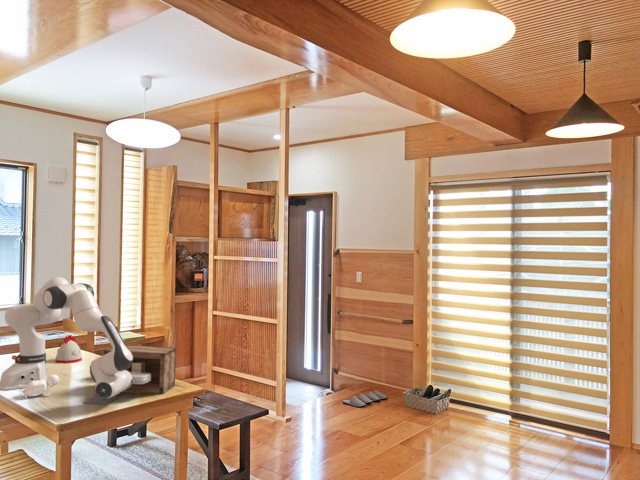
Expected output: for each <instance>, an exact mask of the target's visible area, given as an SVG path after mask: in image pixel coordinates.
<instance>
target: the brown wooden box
mask: <svg viewBox="0 0 640 480" xmlns="http://www.w3.org/2000/svg"><path fill="white" fill-rule="evenodd" d="M125 345H126V346H127V347H128V349H129V350H130V351H131V353H132V355H133V362H135V361H145V372H147V373H150V374H151V381H149V382H147V383H145V384H132V385H131V386H130V387H129V388H128V389H126V390H124V391H122V392H121V393H124V392H125V393H138V394H139V393H140V394H141V393H142V394H154V395H155V394H156V395H157V394H159V395H164V394H166V393H167V392H169V391H170V390H172V389H173V388H174V387H176V362H177V361H176V359H177V356H176V355H177V347H172V346H171V347H170V346H169V347H167V346H152V345H151V346H149V345H133V344H132V345H130V344H128V345H127V344H125ZM112 350H113V347H112V346H111V347H110V348H106V349H103V355H105V354H107V353H109V352H111V351H112ZM133 362H132V363H133ZM126 371H128V372H132V364H131V366H130V368H129V369H126Z"/></svg>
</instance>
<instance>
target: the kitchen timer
mask: <svg viewBox="0 0 640 480" xmlns="http://www.w3.org/2000/svg"><path fill="white" fill-rule="evenodd" d="M75 340H76V337H74V336H72V335H71V334H69V335H66V336H65V338H63V342H64V343H62V344H61V345H60V347H59V348H58V349H57V351H56V356H55V362H56V363H58V364H73V363H78V362H82V360H83V355H82V350H81V348H80V346H79V345H78V344H77V342H75Z"/></svg>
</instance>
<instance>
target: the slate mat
mask: <svg viewBox="0 0 640 480" xmlns="http://www.w3.org/2000/svg"><path fill="white" fill-rule="evenodd" d="M115 399H117V396H113V397H110V398H102V397H100V396H99V395H98V394H96V395H93V396H92V397H90V398H88V399H86V400H85V401H82V404H86V405H100V406H101V405H103V406H104V405H107V404H108V403H110V402H112V401H113V400H115Z"/></svg>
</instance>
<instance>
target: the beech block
mask: <svg viewBox="0 0 640 480" xmlns="http://www.w3.org/2000/svg"><path fill="white" fill-rule="evenodd" d="M132 372H141V373H143V372H145V361H135V362H133V363H132Z"/></svg>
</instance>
